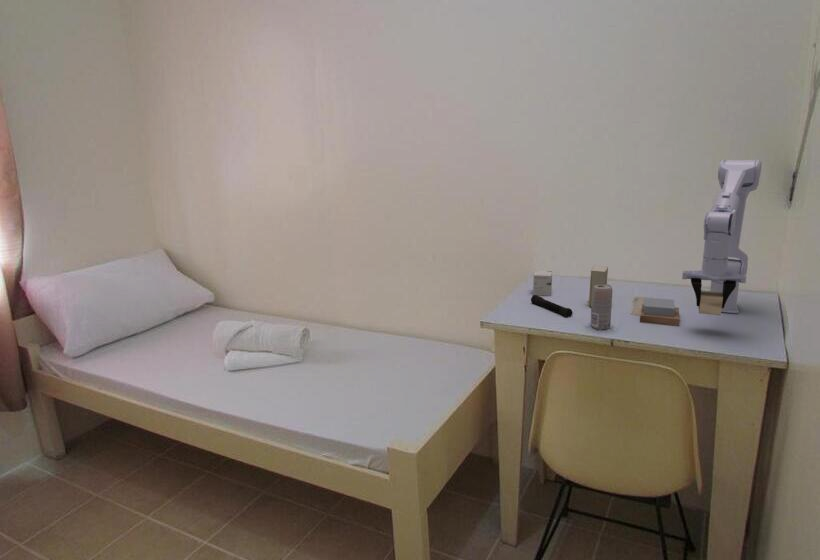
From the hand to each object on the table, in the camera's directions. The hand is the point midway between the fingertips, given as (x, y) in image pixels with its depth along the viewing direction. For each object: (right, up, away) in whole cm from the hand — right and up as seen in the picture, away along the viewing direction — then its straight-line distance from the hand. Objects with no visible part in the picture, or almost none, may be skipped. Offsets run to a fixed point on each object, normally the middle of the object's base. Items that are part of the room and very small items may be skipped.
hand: (709, 306), depth 140 cm
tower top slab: (-8, -2, +13) cm, 15 cm away
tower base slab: (-7, -5, +13) cm, 16 cm away
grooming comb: (-7, -2, +24) cm, 25 cm away
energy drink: (-26, -6, +9) cm, 28 cm away
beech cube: (0, -1, 0) cm, 1 cm away
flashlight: (-36, -3, +25) cm, 44 cm away
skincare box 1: (-35, +2, +41) cm, 54 cm away
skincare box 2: (-21, -1, +27) cm, 34 cm away
